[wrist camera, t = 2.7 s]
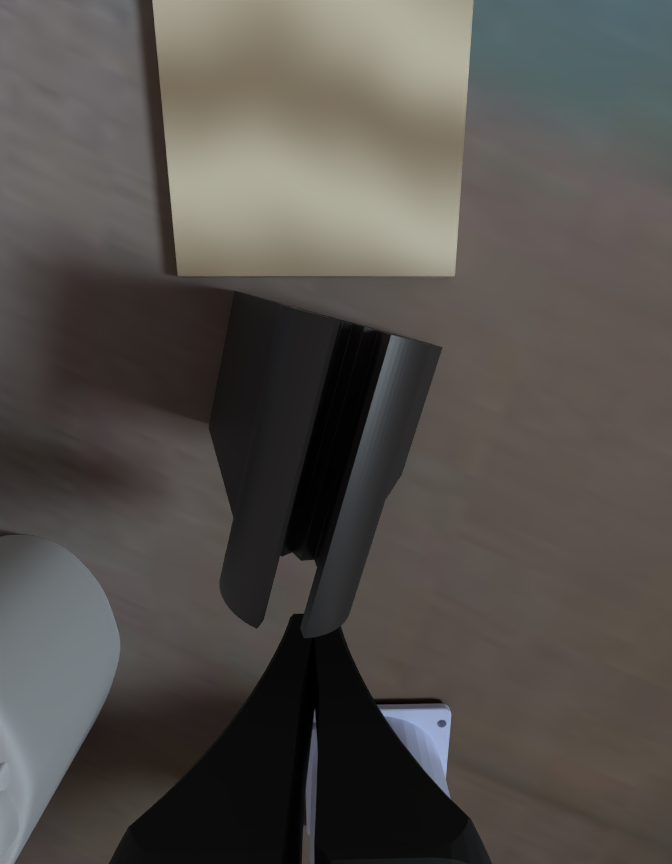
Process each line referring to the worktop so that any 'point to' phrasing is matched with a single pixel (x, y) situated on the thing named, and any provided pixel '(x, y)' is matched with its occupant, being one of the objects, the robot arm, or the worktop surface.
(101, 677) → the lumpy-topped squat cylinder
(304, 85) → the birch board
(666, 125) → the worktop surface
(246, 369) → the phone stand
